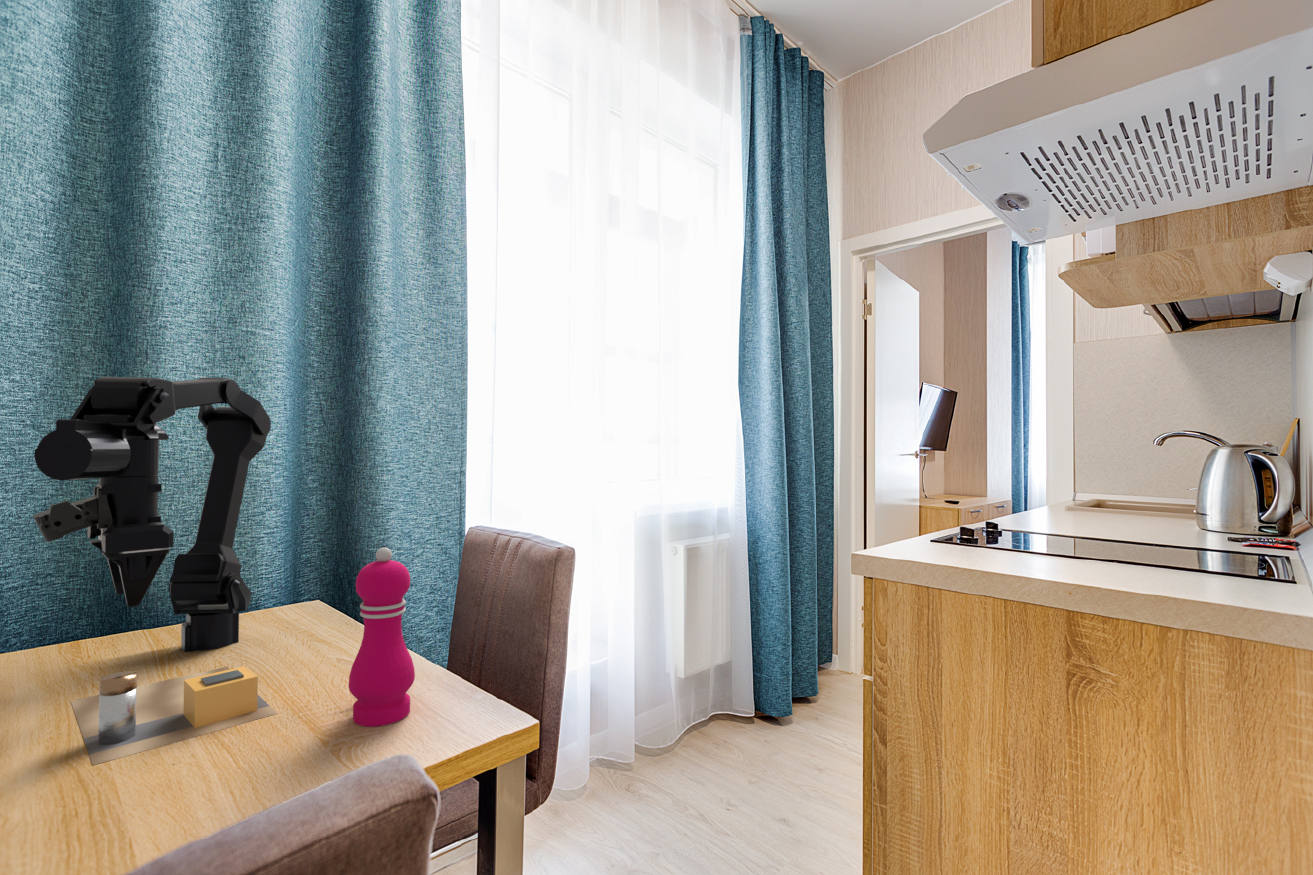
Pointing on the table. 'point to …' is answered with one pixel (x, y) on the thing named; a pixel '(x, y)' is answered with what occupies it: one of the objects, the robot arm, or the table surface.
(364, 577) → the pepper mill
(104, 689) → the metal peg
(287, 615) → the table surface
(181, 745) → the table surface
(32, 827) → the table surface
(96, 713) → the beige flat piece
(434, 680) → the table surface
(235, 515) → the robot arm
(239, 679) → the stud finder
